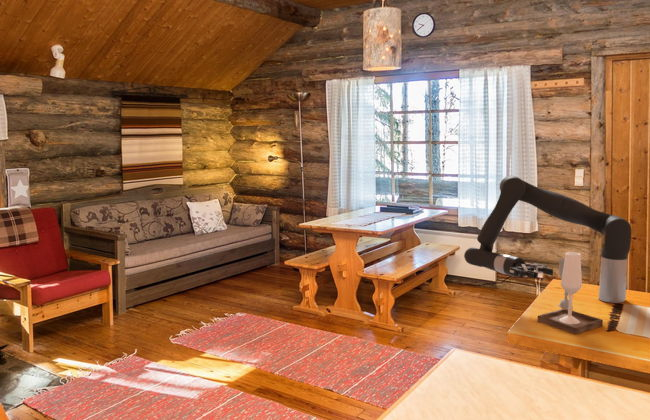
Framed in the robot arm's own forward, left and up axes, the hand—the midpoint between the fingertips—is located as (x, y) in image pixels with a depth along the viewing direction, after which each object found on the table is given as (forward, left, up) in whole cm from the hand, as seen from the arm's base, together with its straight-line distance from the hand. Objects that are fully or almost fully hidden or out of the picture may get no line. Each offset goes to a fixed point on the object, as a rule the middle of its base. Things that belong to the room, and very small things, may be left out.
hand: (545, 274), depth 207 cm
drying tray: (0, +11, -15) cm, 19 cm away
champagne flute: (0, +11, -15) cm, 18 cm away
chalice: (-16, -2, -16) cm, 23 cm away
